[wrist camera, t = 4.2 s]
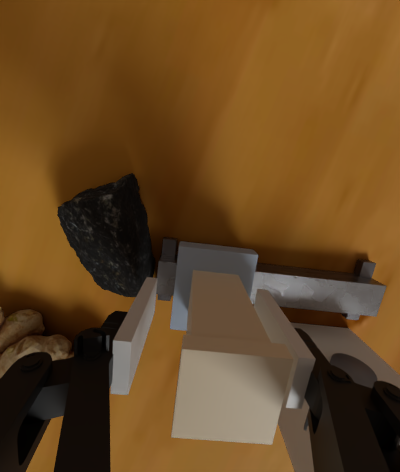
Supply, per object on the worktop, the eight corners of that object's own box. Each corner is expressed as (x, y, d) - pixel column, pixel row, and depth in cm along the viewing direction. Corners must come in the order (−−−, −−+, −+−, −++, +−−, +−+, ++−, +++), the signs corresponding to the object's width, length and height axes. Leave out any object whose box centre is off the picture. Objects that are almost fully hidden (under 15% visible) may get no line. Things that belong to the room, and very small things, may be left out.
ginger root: (-98, 378, 22) (-239, 465, 14) (14, 253, 23) (-58, 269, 15) (42, 448, 25) (-8, 552, 17) (134, 334, 26) (126, 381, 18)
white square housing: (261, 377, 24) (306, 505, 14) (275, 317, 23) (335, 416, 13) (331, 383, 25) (421, 512, 15) (349, 324, 23) (463, 426, 13)
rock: (96, 293, 22) (62, 330, 16) (62, 190, 20) (8, 191, 14) (166, 279, 22) (156, 312, 16) (138, 174, 20) (116, 168, 14)
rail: (159, 295, 22) (154, 309, 19) (164, 236, 21) (160, 243, 18) (352, 315, 23) (371, 330, 20) (369, 260, 22) (391, 270, 19)
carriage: (174, 303, 22) (146, 461, 9) (182, 234, 20) (160, 312, 8) (234, 309, 22) (285, 470, 10) (246, 241, 21) (325, 328, 8)
